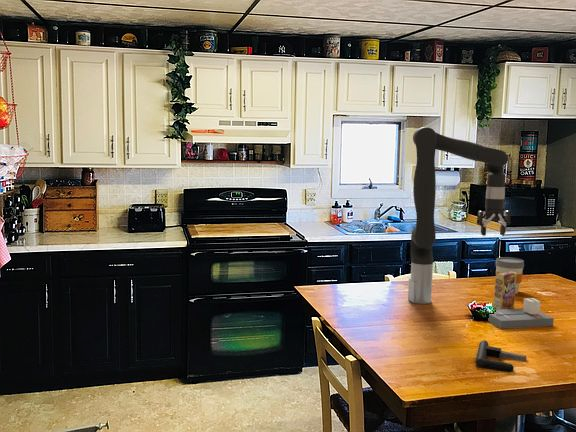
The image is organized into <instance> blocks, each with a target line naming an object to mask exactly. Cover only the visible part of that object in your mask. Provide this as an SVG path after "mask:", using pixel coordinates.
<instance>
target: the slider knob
mask: <svg viewBox="0 0 576 432" xmlns="http://www.w3.org/2000/svg"><path fill="white" fill-rule="evenodd" d="M522 308H523V311H525V312H527V313H529V314H540V312H541V301H540V300H538V299H536V298H534V297H527V298H523V306H522Z"/></svg>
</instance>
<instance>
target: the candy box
mask: <svg viewBox="0 0 576 432" xmlns="http://www.w3.org/2000/svg"><path fill="white" fill-rule="evenodd" d="M516 276H517V273H515V272H511V271H508V272H502V273H496V272H495V280H494V293H493V294H494V295H493V305H492V307H493V306H495V307H496V308H497V309H496V310H499V309H514V307H515V297H516V296H515V295H516V294H515V287H516Z"/></svg>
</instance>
